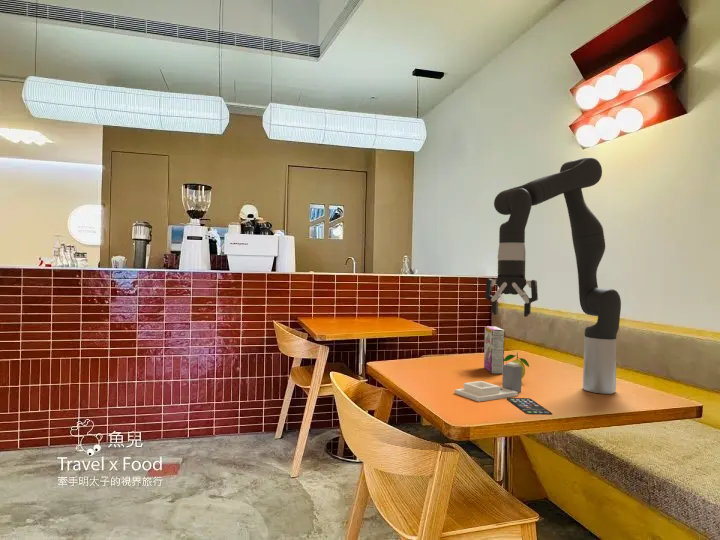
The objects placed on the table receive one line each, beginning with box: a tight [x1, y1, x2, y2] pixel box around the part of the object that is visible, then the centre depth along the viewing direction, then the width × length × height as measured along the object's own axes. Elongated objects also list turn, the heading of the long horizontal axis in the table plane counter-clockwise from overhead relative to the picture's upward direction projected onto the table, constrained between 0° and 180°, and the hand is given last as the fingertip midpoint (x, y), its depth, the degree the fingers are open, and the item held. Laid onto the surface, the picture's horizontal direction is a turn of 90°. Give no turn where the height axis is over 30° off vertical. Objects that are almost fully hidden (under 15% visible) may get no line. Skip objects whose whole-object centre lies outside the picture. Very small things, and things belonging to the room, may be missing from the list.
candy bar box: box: [483, 325, 506, 375], centre depth 179 cm, size 11×5×16 cm, turn 179°
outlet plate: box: [454, 380, 519, 403], centre depth 143 cm, size 16×10×3 cm, turn 120°
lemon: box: [504, 352, 530, 379], centre depth 162 cm, size 7×6×10 cm
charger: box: [501, 361, 523, 394], centre depth 148 cm, size 4×4×9 cm
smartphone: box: [506, 397, 553, 416], centre depth 132 cm, size 7×1×15 cm
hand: (510, 315), depth 135 cm, fingers open, 8 cm apart
